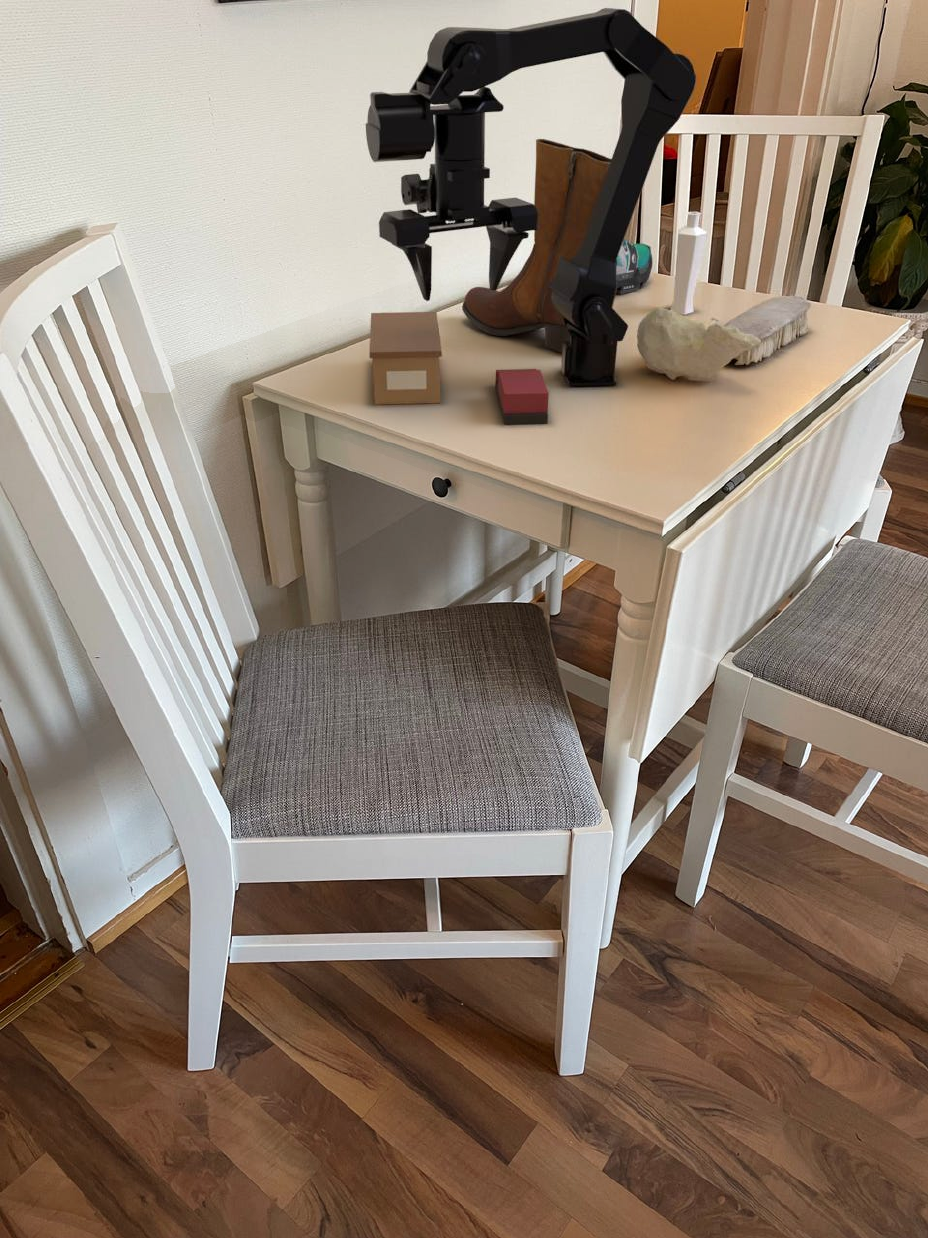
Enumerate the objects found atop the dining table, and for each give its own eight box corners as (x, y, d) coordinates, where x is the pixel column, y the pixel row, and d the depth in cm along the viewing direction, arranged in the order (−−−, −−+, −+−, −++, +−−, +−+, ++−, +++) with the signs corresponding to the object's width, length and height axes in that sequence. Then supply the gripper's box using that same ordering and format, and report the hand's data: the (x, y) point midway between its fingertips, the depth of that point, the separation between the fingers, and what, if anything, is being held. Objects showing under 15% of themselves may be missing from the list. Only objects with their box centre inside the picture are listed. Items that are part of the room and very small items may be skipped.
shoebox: (437, 360, 137) (436, 311, 133) (442, 404, 124) (441, 350, 120) (373, 362, 136) (371, 312, 132) (372, 405, 123) (369, 352, 119)
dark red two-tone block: (535, 387, 129) (536, 359, 126) (547, 423, 119) (549, 394, 117) (495, 388, 128) (495, 360, 126) (504, 424, 118) (505, 395, 116)
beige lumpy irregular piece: (616, 374, 138) (632, 336, 123) (637, 329, 139) (655, 285, 124) (715, 417, 137) (743, 383, 122) (735, 371, 138) (766, 332, 123)
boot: (452, 322, 151) (451, 132, 136) (496, 310, 156) (500, 126, 141) (564, 366, 135) (578, 156, 120) (610, 352, 140) (628, 149, 125)
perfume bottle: (660, 308, 157) (672, 211, 149) (682, 305, 159) (695, 208, 150) (677, 316, 154) (689, 217, 145) (699, 313, 155) (713, 214, 147)
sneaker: (667, 281, 171) (678, 190, 162) (580, 309, 157) (587, 211, 148) (625, 270, 176) (634, 182, 167) (538, 297, 162) (543, 202, 154)
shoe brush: (769, 319, 153) (775, 287, 150) (815, 329, 149) (821, 296, 146) (703, 361, 137) (708, 326, 134) (752, 373, 133) (759, 337, 130)
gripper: (497, 140, 119) (495, 269, 128) (357, 152, 112) (365, 288, 121) (543, 154, 111) (537, 291, 120) (395, 167, 104) (401, 312, 113)
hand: (460, 294), depth 119 cm, fingers open, 9 cm apart
